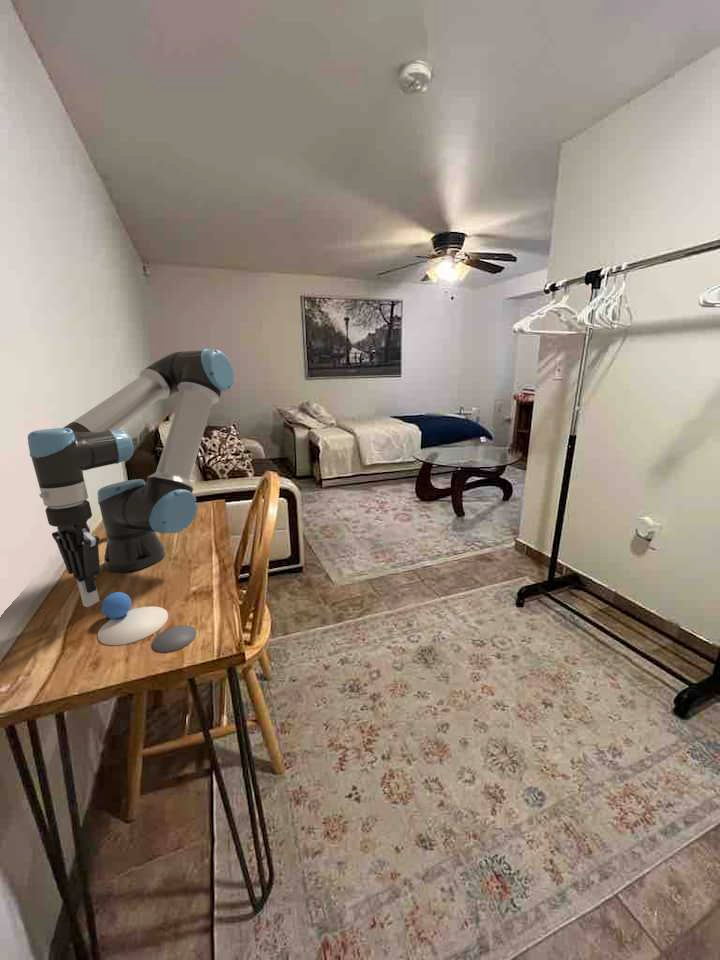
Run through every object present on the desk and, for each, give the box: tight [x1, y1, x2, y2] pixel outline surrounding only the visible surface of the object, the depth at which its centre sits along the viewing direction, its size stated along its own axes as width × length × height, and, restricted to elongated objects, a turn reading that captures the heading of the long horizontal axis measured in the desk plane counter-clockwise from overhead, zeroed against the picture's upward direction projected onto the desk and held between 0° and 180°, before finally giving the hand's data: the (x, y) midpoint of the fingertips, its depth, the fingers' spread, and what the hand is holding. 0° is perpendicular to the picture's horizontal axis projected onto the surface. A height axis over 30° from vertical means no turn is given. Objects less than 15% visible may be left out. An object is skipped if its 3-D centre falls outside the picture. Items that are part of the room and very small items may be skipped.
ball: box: [101, 591, 132, 620], centre depth 85 cm, size 6×6×6 cm
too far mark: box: [151, 624, 197, 653], centre depth 77 cm, size 8×8×1 cm
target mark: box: [97, 606, 169, 646], centre depth 82 cm, size 13×13×1 cm
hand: (91, 603), depth 88 cm, fingers closed
